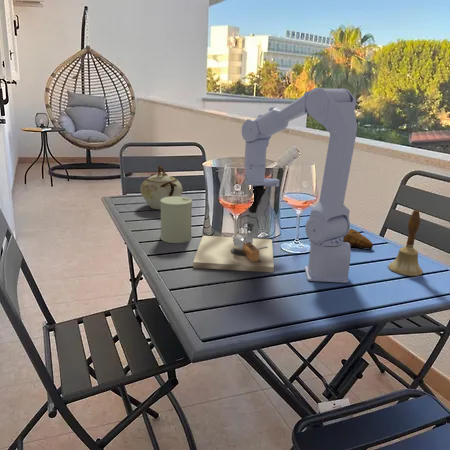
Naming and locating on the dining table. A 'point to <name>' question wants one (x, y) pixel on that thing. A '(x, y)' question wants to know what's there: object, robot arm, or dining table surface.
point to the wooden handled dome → (246, 247)
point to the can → (176, 219)
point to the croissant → (357, 240)
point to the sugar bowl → (160, 188)
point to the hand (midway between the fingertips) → (252, 212)
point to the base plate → (232, 255)
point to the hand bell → (408, 251)
